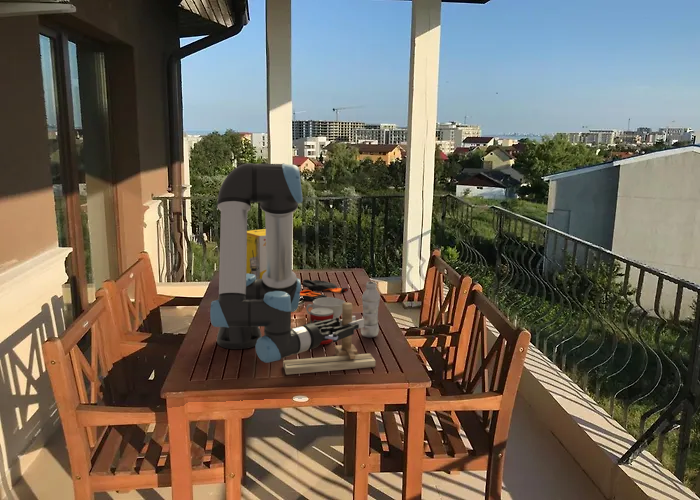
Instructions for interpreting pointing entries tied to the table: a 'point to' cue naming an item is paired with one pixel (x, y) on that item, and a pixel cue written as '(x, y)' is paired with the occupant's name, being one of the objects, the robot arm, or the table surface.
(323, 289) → the pair of gloves
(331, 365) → the board
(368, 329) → the plastic bottle
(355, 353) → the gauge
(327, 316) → the canned food
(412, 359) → the table surface
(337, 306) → the teacup
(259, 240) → the packaging box
